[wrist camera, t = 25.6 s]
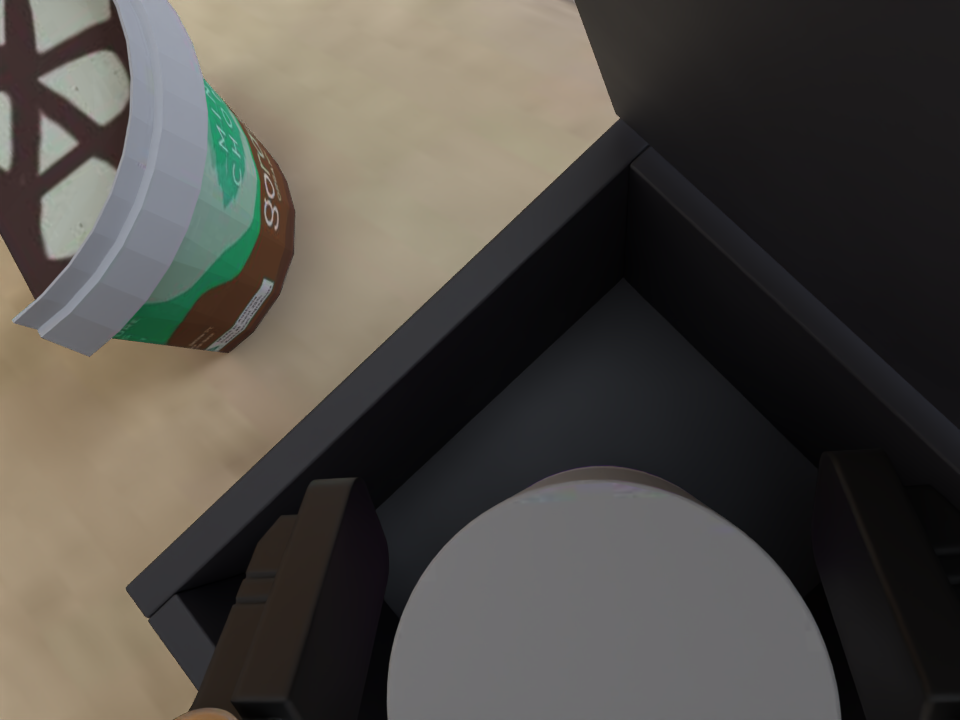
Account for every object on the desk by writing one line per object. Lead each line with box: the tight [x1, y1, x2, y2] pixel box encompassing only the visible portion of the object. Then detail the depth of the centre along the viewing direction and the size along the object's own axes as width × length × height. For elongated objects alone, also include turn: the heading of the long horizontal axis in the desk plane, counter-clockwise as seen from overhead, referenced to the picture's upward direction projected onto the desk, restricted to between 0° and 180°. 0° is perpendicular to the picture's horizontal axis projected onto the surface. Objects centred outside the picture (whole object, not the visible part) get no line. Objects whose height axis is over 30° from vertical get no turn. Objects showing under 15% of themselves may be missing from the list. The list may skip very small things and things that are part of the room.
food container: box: [0, 0, 295, 357], centre depth 22 cm, size 12×6×10 cm, turn 33°
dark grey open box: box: [126, 118, 960, 720], centre depth 18 cm, size 14×12×10 cm
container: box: [387, 465, 841, 720], centre depth 15 cm, size 5×5×15 cm
